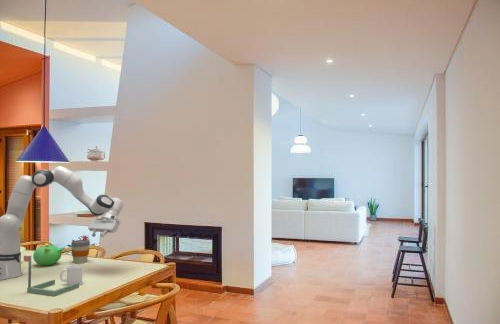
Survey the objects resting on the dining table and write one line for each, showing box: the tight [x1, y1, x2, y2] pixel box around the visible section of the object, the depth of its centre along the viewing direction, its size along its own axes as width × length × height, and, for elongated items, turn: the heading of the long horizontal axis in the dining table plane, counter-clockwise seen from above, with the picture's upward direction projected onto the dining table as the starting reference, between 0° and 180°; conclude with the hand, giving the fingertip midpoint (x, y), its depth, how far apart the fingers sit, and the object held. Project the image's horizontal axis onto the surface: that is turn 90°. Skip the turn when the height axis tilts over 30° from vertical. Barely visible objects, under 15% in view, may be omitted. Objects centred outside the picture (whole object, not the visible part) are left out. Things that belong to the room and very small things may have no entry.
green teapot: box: [32, 242, 67, 266], centre depth 281 cm, size 18×17×15 cm
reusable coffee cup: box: [70, 239, 91, 265], centre depth 290 cm, size 12×13×15 cm
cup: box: [59, 264, 83, 286], centre depth 235 cm, size 8×12×10 cm
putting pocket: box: [23, 255, 80, 297], centre depth 223 cm, size 18×23×20 cm
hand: (97, 236), depth 255 cm, fingers open, 5 cm apart
